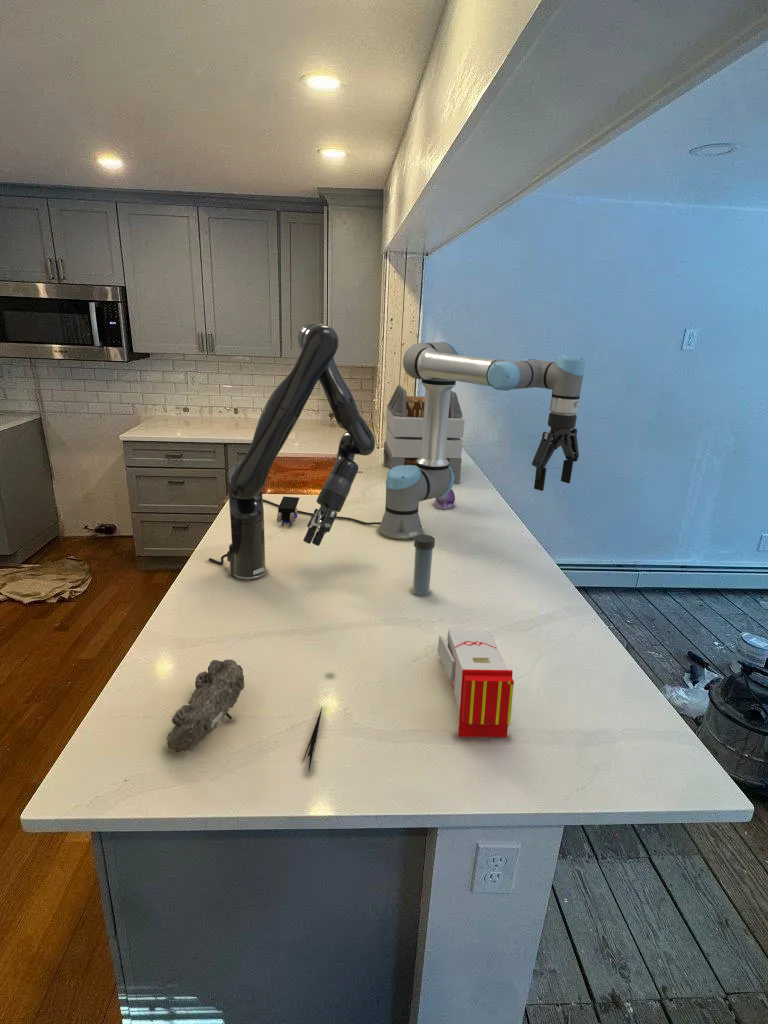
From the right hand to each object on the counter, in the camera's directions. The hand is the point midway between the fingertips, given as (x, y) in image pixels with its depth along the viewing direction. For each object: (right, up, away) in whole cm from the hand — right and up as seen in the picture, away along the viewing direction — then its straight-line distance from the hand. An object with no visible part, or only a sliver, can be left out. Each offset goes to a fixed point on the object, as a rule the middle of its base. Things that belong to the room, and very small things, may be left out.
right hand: (552, 485), depth 166 cm
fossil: (-82, -47, -57) cm, 110 cm away
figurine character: (-84, -11, +41) cm, 94 cm away
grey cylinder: (-39, -30, -6) cm, 49 cm away
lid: (-38, -15, -11) cm, 42 cm away
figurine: (-25, -5, +65) cm, 70 cm away
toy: (-31, -45, -47) cm, 72 cm away
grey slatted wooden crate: (-32, +11, +109) cm, 115 cm away
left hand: (-70, -17, -5) cm, 72 cm away
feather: (-62, -47, -57) cm, 96 cm away
